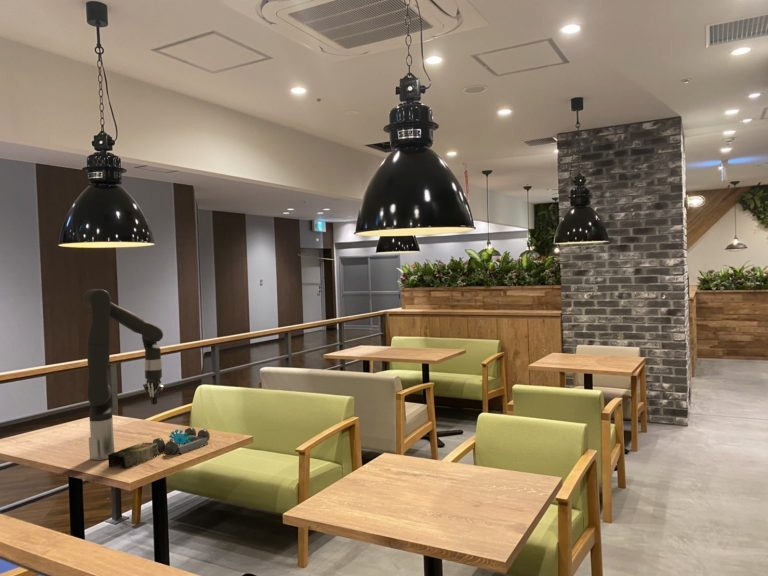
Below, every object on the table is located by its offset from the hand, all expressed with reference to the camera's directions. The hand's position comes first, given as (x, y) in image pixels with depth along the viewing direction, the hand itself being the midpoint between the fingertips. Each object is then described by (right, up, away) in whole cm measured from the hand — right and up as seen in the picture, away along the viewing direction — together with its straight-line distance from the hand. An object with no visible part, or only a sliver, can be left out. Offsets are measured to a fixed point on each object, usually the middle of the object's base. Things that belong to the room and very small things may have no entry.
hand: (154, 404), depth 279 cm
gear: (+16, -19, -8) cm, 25 cm away
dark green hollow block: (+2, -20, -26) cm, 33 cm away
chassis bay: (+16, -18, -8) cm, 26 cm away
